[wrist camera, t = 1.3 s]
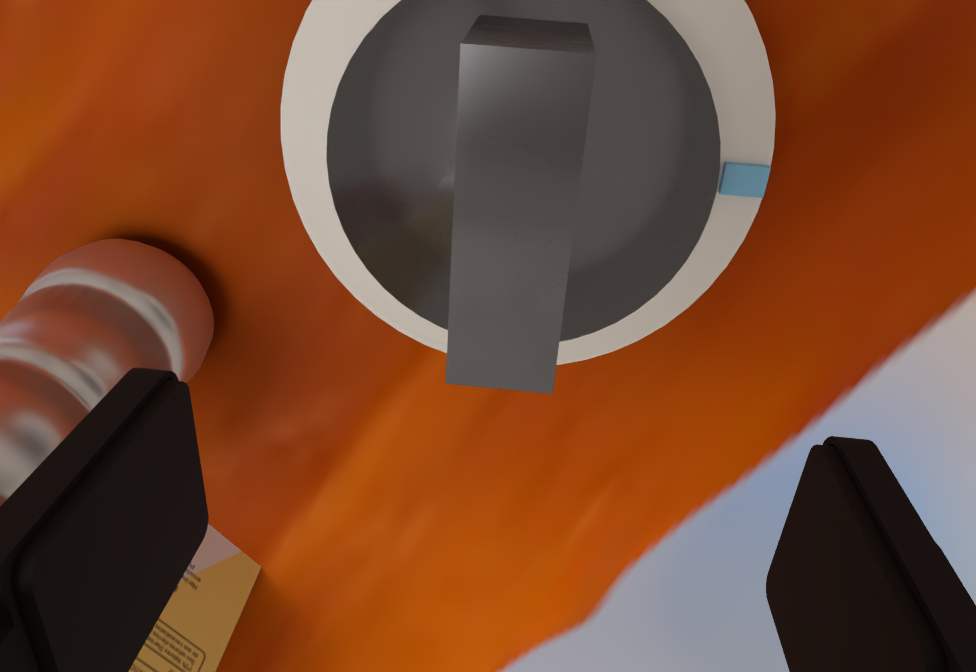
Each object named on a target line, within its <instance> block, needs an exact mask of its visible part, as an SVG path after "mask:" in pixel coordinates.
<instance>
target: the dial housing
mask: <svg viewBox="0 0 976 672" xmlns="http://www.w3.org/2000/svg"><path fill="white" fill-rule="evenodd" d="M399 1H401V0H312V2H311V3H310V5H309V7H308V9H307V10H306V12H305V15H304V17H303V20H302V22H301V24H300V27H299V29H298V32H297V34H296V37H295V39H294V41H293V45H292V48H291V52H290V56H289V60H288V64H287V67H286V71H285V76H284V84H283V92H282V100H281V143H282V150H283V158H284V165H285V171H286V175H287V178H288V182H289V186H290V190H291V193H292V197H293V200H294V203H295V205H296V208H297V210H298V213H299V215H300V217H301V220H302V222H303V225H304V227H305V229H306V231H307V233H308V234H309V236H310V238H311V240H312V242H313V243H314V245H315V247H316V249H317V251H318V252H319V254H320V255H321V257H322V258H323V259H324V261H325V262H326V264H327V265H328V266H329V268H330V269H331V271H332V272H333V273H334V275H335V276H336V277H337V278H338V279H339V280H340V282H341V283H342V284H343V285H344V286H345V287H346V288H347V289H348V290H349V291H350V292H351V294H352V295H353V296H354V297H355V298H356V299H358V300H359V301H360V302H361V303H362V304H363V305H364V306H366V307H367V308H368V309H369V310H370V311H371V312H373V313H374V314H375V315H376V316H377V317H379V318H380V319H382V320H383V321H385V322H386V323H388V324H389V325H391V326H392V327H394V328H395V329H397V330H398V331H399V332H401V333H403V334H405V335H407V336H409V337H411V338H413V339H415V340H417V341H418V342H420V343H422V344H424V345H427V346H429V347H432V348H434V349H437V350H440V351H442V352H445V353H447V342H448V330H446V329H444V328H441V327H439V326H437V325H435V324H433V323H431V322H430V321H428V320H426V319H424V318H422V317H420V316H419V315H417V314H416V313H414V312H413V311H411V310H410V309H408V308H407V307H406V306H404V305H403V304H401V303H400V302H399V301H398V300H397V299H395V298H394V297H393V296H392V295H391V294H390V293H389V292H388V291H386V290H385V289H384V288H383V287H382V286H381V285H380V284H379V282H378V281H377V280H376V279H375V278H374V277H373V276H372V275H371V273H370V272H369V271H368V270H367V269H366V267H365V266H364V264H363V263H362V261H361V260H360V259H359V257H358V256H357V254H356V253H355V251H354V250H353V248H352V246H351V244H350V242H349V240H348V238H347V236H346V234H345V233H344V231H343V228H342V226H341V223H340V220H339V218H338V215H337V212H336V210H335V207H334V202H333V198H332V194H331V190H330V186H329V179H328V169H327V160H326V158H327V132H328V125H329V119H330V113H331V108H332V105H333V101H334V98H335V95H336V91H337V88H338V85H339V82H340V80H341V78H342V76H343V74H344V71H345V69H346V67H347V65H348V63H349V61H350V59H351V57H352V56H353V54H354V53H355V51H356V50H357V48H358V46H359V45H360V43H361V42H362V40H363V39H364V37H365V36H366V35H367V34H368V33H369V31H370V30H371V29H372V28H373V27H374V26H375V24H376V23H377V22H378V21H379V20H380V19H381V17H382V16H384V15H385V14H386V13H387V12H388V11H389V10H390V9H391V8H393V7H394V6H395V5H396V4H397V3H398V2H399ZM647 1H648V2H650V3H651V4H652V5H653V6H654V7H655V8H656V9H657V10H658V11H659V12H661V13H662V14H663V15H664V16H665V17H666V18H667V19H668V21H669V22H670V23H671V24H672V26H673V27H674V28H675V29H676V30H677V32H678V33H679V34H680V35H681V36H682V38H683V39H684V40H685V41H686V43H687V45H688V46H689V48H690V50H691V51H692V53H693V54H694V56H695V58H696V59H697V61H698V63H699V64H700V66H701V69H702V71H703V74H704V76H705V78H706V81H707V83H708V85H709V88H710V90H711V94H712V97H713V101H714V105H715V109H716V112H717V116H718V125H719V133H720V141H721V149H720V172H719V179H718V185H717V192H716V196H715V199H714V203H713V206H712V210H711V213H710V216H709V219H708V221H707V224H706V226H705V228H704V230H703V233H702V235H701V237H700V239H699V241H698V243H697V245H696V246H695V248H694V249H693V251H692V253H691V254H690V256H689V258H688V259H687V261H686V262H685V264H684V265H683V266H682V267H681V269H680V270H679V271H678V272H677V274H676V275H675V276H674V277H673V279H672V280H671V281H670V282H669V283H668V284H667V285H666V286H665V287H664V288H663V289H662V290H661V291H660V292H659V293H658V294H657V295H656V296H655V297H653V298H652V299H651V300H649V301H648V302H647V303H646V304H644V305H643V306H642V307H640V308H639V309H638V310H636V311H635V312H633V313H632V314H630V315H628V316H627V317H625V318H623V319H622V320H620V321H618V322H617V323H615V324H612V325H610V326H608V327H606V328H603V329H601V330H599V331H597V332H594V333H591V334H588V335H585V336H581V337H578V338H575V339H571V340H566V341H561V342H559V349H558V356H557V364H556V365H560V364H566V363H571V362H577V361H582V360H587V359H590V358H593V357H597V356H600V355H603V354H606V353H610V352H613V351H615V350H618V349H620V348H622V347H625V346H627V345H629V344H631V343H634V342H636V341H638V340H640V339H642V338H644V337H645V336H647V335H649V334H651V333H652V332H654V331H656V330H658V329H659V328H661V327H663V326H664V325H666V324H667V323H668V322H670V321H671V320H672V319H674V318H675V317H676V316H678V315H679V314H680V313H682V312H683V311H684V310H686V309H687V308H688V307H689V306H690V305H691V304H692V303H694V302H695V301H696V300H697V299H698V298H699V297H700V296H701V295H702V294H703V293H704V292H705V291H706V290H707V289H708V288H709V287H710V286H711V285H712V284H713V282H714V281H715V280H716V279H717V277H718V276H719V275H720V274H721V273H722V271H723V270H724V269H725V268H726V267H727V265H728V264H729V262H730V261H731V259H732V258H733V256H734V255H735V253H736V252H737V250H738V248H739V247H740V245H741V244H742V242H743V241H744V239H745V237H746V235H747V233H748V231H749V229H750V226H751V224H752V222H753V220H754V218H755V216H756V214H757V212H758V209H759V206H760V203H761V200H762V198H763V197H764V193H765V189H766V185H767V182H768V178H769V174H770V170H771V161H772V156H773V151H774V138H775V119H776V113H775V101H774V89H773V80H772V75H771V71H770V67H769V62H768V58H767V54H766V49H765V46H764V43H763V41H762V38H761V35H760V33H759V30H758V28H757V25H756V22H755V20H754V17H753V15H752V13H751V11H750V9H749V7H748V6H747V4H746V2H745V0H647Z"/></svg>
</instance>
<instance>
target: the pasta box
mask: <svg viewBox="0 0 976 672" xmlns="http://www.w3.org/2000/svg"><path fill="white" fill-rule="evenodd" d="M260 569H261V566H260V565H258V564H257V563H256V562H255V561H254V560H252V559H251V558H250V557H249V556H247V555H246V554H245V553H244V552H242V551H241V550H240V549H239V548H238V547H236V546H235V545H234V544H233V543H231V542H230V541H229V540H228V539H227V538H225V537H224V536H223V535H222V534H220V533H219V532H218V531H217V530H215V529H214V528H213V527H212V526H211V525H209V524H208V527H207V531H206V534H205V537H204V539H203V541H202V543H201V545H200V547H199V548H198V550H197V552H196V554H195V555H194V557H193V559H192V561H191V562H190V564H189V566H188V568H187V570H186V571H185V573H184V575H183V577H182V578H181V580H180V582H179V584H178V585H177V587H176V589H175V591H174V592H173V594H172V596H171V598H170V599H169V601H168V603H167V605H166V606H165V608H164V610H163V612H162V613H161V615H160V617H159V619H158V621H157V622H156V624H155V626H154V628H153V629H152V631H151V633H150V635H149V636H148V638H147V640H146V642H145V643H144V645H143V647H142V649H141V650H140V652H139V654H138V656H137V657H136V659H135V661H134V663H133V664H132V666H131V668H130V670H129V672H215V671H216V669H217V667H218V665H219V662H220V660H221V658H222V656H223V653H224V651H225V649H226V647H227V644H228V642H229V640H230V637H231V635H232V633H233V631H234V628H235V626H236V624H237V622H238V619H239V617H240V615H241V613H242V610H243V608H244V606H245V603H246V601H247V599H248V597H249V594H250V592H251V590H252V588H253V585H254V583H255V581H256V578H257V576H258V574H259V572H260Z"/></svg>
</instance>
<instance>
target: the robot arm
mask: <svg viewBox="0 0 976 672" xmlns="http://www.w3.org/2000/svg"><path fill="white" fill-rule="evenodd" d="M207 527H208V510H207V503H206V496H205V490H204V483H203V477H202V470H201V464H200V457H199V450H198V444H197V437H196V431H195V424H194V418H193V411H192V404H191V398H190V391H189V387H188V385H187V383H185V382H183V381H179V380H178V377H177V375H176V374H175V373H174V372H173V371H168V370H158V369H148V368H138V367H137V368H132V369H131V370H129V371H128V372H127V373H126V374H125V375H124V376H123V377H122V378H121V379H120V381H119V382H118V383H117V384H116V385H115V386H114V387H113V388H112V389H111V390H110V391H109V392H108V393H107V394H106V395H105V396H104V397H103V398H102V400H101V401H100V402H99V403H98V404H97V405H96V406H95V407H94V408H93V409H92V410H91V411H90V412H89V413H88V414H87V415H86V416H85V417H84V419H83V420H82V421H81V422H80V423H79V424H78V425H77V426H76V427H75V428H74V429H73V430H72V431H71V432H70V433H69V434H68V435H67V436H66V438H65V439H64V440H63V441H62V442H61V443H60V444H59V445H58V446H57V447H56V448H55V449H54V450H53V451H52V452H51V453H50V454H49V455H48V457H47V458H46V459H45V460H44V461H43V462H42V463H41V464H40V465H39V466H38V467H37V468H36V469H35V470H34V471H33V472H32V473H31V474H30V476H29V477H28V478H27V479H26V480H25V481H24V482H23V483H22V484H21V485H20V486H19V487H18V488H17V489H16V490H15V491H14V492H13V493H12V495H11V496H10V497H9V498H8V499H7V500H6V501H5V502H4V503H3V504H2V505H1V506H0V672H129V670H130V668H131V666H132V664H133V663H134V661H135V659H136V657H137V656H138V654H139V652H140V650H141V649H142V647H143V645H144V643H145V642H146V640H147V638H148V636H149V635H150V633H151V631H152V629H153V628H154V626H155V624H156V622H157V621H158V619H159V617H160V615H161V613H162V612H163V610H164V608H165V606H166V605H167V603H168V601H169V599H170V598H171V596H172V594H173V592H174V591H175V589H176V587H177V585H178V584H179V582H180V580H181V578H182V577H183V575H184V573H185V571H186V570H187V568H188V566H189V564H190V562H191V561H192V559H193V557H194V555H195V554H196V552H197V550H198V548H199V547H200V545H201V543H202V541H203V539H204V537H205V534H206V531H207ZM766 594H767V600H768V603H769V606H770V610H771V613H772V616H773V619H774V623H775V626H776V629H777V632H778V636H779V639H780V642H781V645H782V648H783V652H784V655H785V658H786V661H787V665H788V668H789V671H790V672H976V605H975V604H974V602H973V600H972V599H971V597H970V596H969V594H968V592H967V591H966V589H965V587H964V586H963V584H962V582H961V581H960V579H959V578H958V576H957V574H956V573H955V571H954V569H953V568H952V566H951V564H950V563H949V561H948V560H947V558H946V556H945V555H944V553H943V552H942V550H941V549H940V547H939V546H938V545H937V544H936V542H935V541H934V540H933V538H932V536H931V535H930V533H929V532H928V530H927V529H926V527H925V525H924V523H923V522H922V520H921V519H920V517H919V515H918V513H917V512H916V510H915V509H914V507H913V506H912V504H911V502H910V500H909V499H908V497H907V495H906V494H905V492H904V490H903V489H902V487H901V486H900V484H899V482H898V481H897V479H896V477H895V476H894V474H893V473H892V471H891V469H890V468H889V466H888V464H887V463H886V461H885V459H884V458H883V456H882V454H881V453H880V451H879V449H878V448H877V446H876V445H875V444H874V443H873V442H872V441H870V440H864V439H854V438H843V437H834V436H831V437H828V438H827V439H826V440H825V441H824V443H823V445H814V446H813V447H812V448H811V450H810V452H809V455H808V458H807V461H806V464H805V467H804V469H803V472H802V475H801V478H800V481H799V484H798V487H797V490H796V493H795V496H794V499H793V502H792V505H791V507H790V510H789V514H788V516H787V519H786V522H785V525H784V528H783V531H782V534H781V537H780V540H779V542H778V545H777V548H776V551H775V554H774V557H773V560H772V563H771V566H770V569H769V572H768V575H767V581H766Z"/></svg>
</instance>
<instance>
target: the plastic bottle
mask: <svg viewBox="0 0 976 672" xmlns="http://www.w3.org/2000/svg"><path fill="white" fill-rule="evenodd" d="M213 331H214V317H213V311H212V308H211V305H210V301H209V299H208V297H207V295H206V293H205V291H204V289H203V287H202V285H201V284H200V282H199V281H198V279H197V278H196V277H195V275H194V274H193V273H192V272H191V271H190V270H189V269H188V268H187V267H186V266H185V265H184V264H183V263H182V262H181V261H179V260H178V259H176V258H175V257H173V256H172V255H170V254H169V253H167V252H165V251H163V250H161V249H159V248H156V247H153V246H150V245H147V244H144V243H141V242H137V241H133V240H126V239H104V240H99V241H95V242H91V243H89V244H86V245H84V246H81V247H79V248H76V249H74V250H71V251H69V252H67V253H65V254H63V255H61V256H59V257H57V258H56V259H55V260H54V261H53V262H52V263H51V264H49V265H48V266H47V267H46V268H45V269H44V270H43V272H42V273H41V274H40V275H39V276H38V277H37V278H36V279H35V280H34V281H33V283H32V284H31V285H30V286H29V288H28V289H27V290H26V292H25V293H24V295H23V296H22V298H21V300H20V301H19V303H18V304H17V305H16V306H15V307H14V308H13V309H12V310H11V311H10V312H9V313H8V314H7V315H6V316H5V317H4V318H3V319H2V320H1V321H0V506H1V505H2V504H3V503H4V502H5V501H6V500H7V499H8V498H9V497H10V496H11V495H12V493H13V492H14V491H15V490H16V489H17V488H18V487H19V486H20V485H21V484H22V483H23V482H24V481H25V480H26V479H27V478H28V477H29V476H30V474H31V473H32V472H33V471H34V470H35V469H36V468H37V467H38V466H39V465H40V464H41V463H42V462H43V461H44V460H45V459H46V458H47V457H48V455H49V454H50V453H51V452H52V451H53V450H54V449H55V448H56V447H57V446H58V445H59V444H60V443H61V442H62V441H63V440H64V439H65V438H66V436H67V435H68V434H69V433H70V432H71V431H72V430H73V429H74V428H75V427H76V426H77V425H78V424H79V423H80V422H81V421H82V420H83V419H84V417H85V416H86V415H87V414H88V413H89V412H90V411H91V410H92V409H93V408H94V407H95V406H96V405H97V404H98V403H99V402H100V401H101V400H102V398H103V397H104V396H105V395H106V394H107V393H108V392H109V391H110V390H111V389H112V388H113V387H114V386H115V385H116V384H117V383H118V382H119V381H120V379H121V378H122V377H123V376H124V375H125V374H126V373H127V372H128V371H129V370H131V369H132V368H137V367H138V368H148V369H158V370H168V371H173V372H174V373H175V374H176V375H177V377H178V380H179V381H183V382H185V383H187V382H188V381H189V380H190V379H191V378H192V377H193V376H194V375H195V373H196V372H197V371H198V370H199V369H200V367H201V365H202V362H203V360H204V358H205V355H206V353H207V350H208V348H209V345H210V343H211V340H212V338H213Z"/></svg>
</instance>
